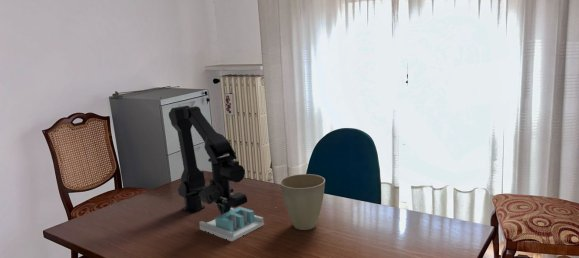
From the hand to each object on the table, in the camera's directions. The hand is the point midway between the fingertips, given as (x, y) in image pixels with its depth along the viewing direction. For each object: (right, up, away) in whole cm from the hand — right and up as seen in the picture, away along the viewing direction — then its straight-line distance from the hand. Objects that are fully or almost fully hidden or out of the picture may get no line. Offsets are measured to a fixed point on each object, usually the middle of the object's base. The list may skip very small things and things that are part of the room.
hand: (224, 218), depth 157 cm
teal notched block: (+4, -2, -3) cm, 5 cm away
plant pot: (+28, -2, -3) cm, 28 cm away
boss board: (+3, -3, -2) cm, 4 cm away
